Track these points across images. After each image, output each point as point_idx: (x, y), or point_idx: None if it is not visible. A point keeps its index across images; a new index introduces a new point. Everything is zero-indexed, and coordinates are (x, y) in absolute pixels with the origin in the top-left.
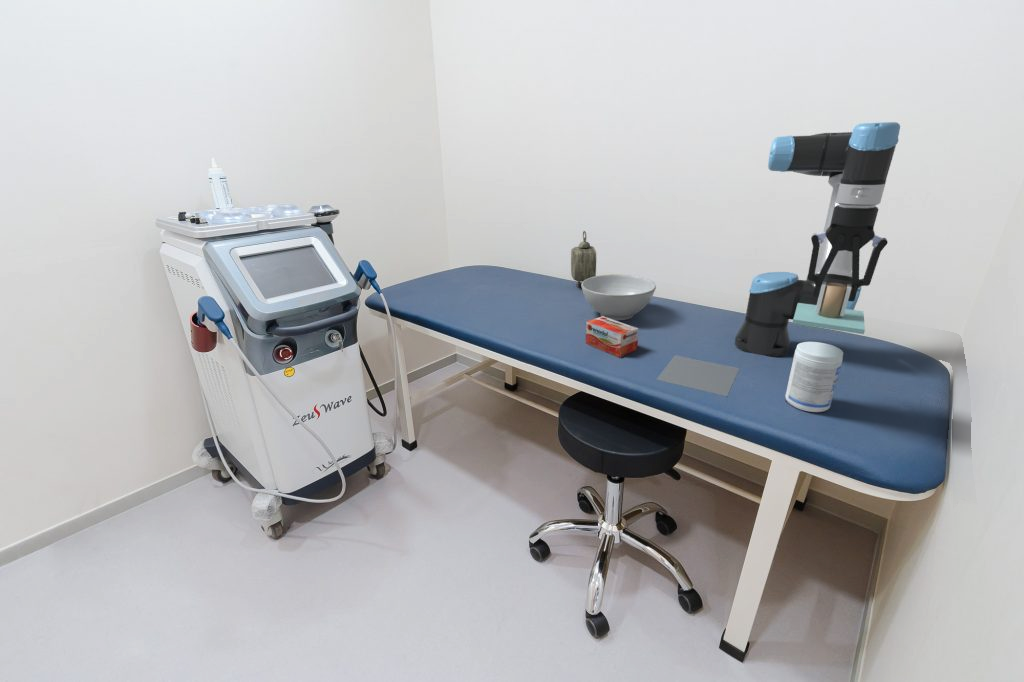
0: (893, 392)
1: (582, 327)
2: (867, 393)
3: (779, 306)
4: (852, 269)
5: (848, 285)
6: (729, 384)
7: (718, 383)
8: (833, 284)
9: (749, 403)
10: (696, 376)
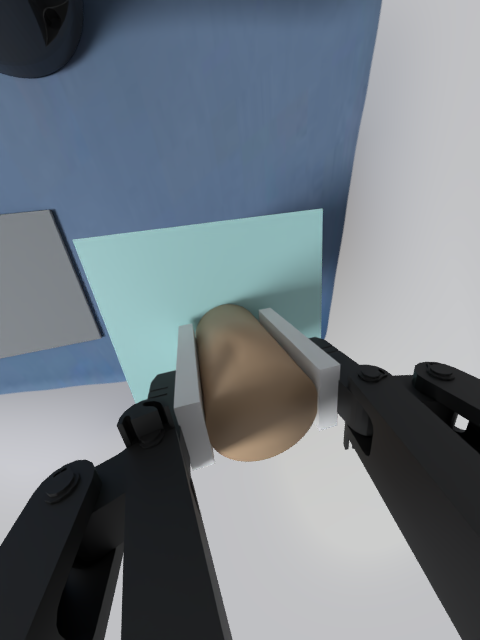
0: (303, 139)
1: None
2: (270, 173)
3: None
4: (430, 578)
5: (325, 392)
6: (79, 296)
7: (61, 306)
8: (248, 412)
9: None
10: (10, 306)
